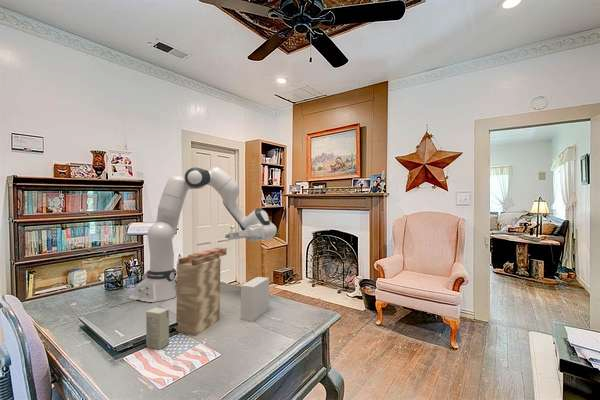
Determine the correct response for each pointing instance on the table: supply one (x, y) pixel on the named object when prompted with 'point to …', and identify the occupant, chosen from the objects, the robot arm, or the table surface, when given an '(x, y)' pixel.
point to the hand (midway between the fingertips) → (231, 235)
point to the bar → (207, 253)
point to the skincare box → (157, 328)
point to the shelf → (254, 298)
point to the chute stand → (198, 293)
